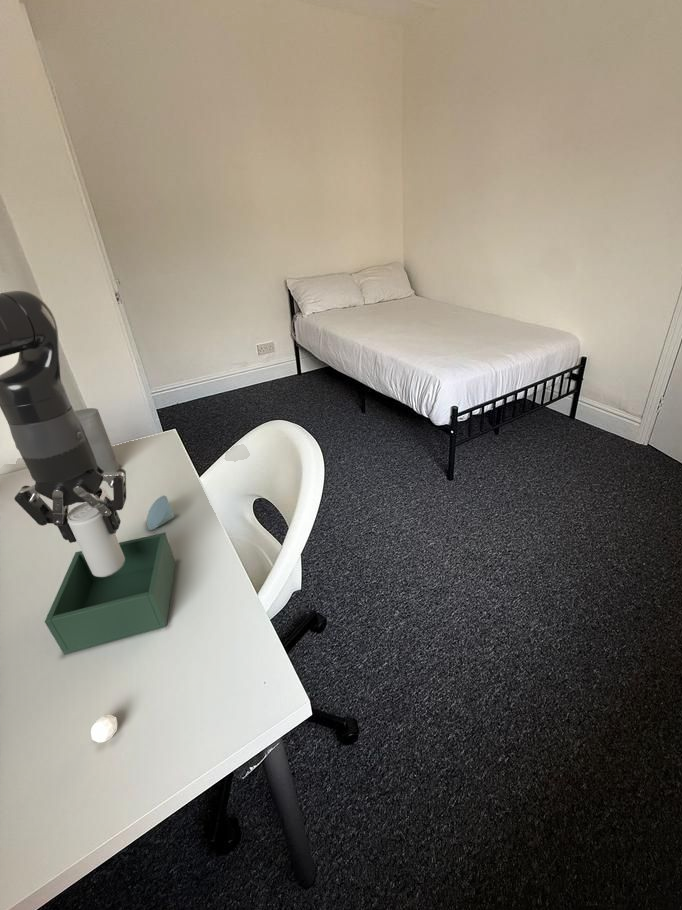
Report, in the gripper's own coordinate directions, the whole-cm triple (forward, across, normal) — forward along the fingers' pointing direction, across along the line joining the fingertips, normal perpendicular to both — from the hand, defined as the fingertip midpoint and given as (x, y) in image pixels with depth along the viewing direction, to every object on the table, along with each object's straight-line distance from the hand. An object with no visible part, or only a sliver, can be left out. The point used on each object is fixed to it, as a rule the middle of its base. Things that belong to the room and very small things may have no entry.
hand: (94, 534), depth 65 cm
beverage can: (+8, 0, 0) cm, 8 cm away
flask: (+16, +18, -47) cm, 53 cm away
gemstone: (+16, -3, -21) cm, 27 cm away
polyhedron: (+16, -2, +22) cm, 27 cm away
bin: (+16, 0, 0) cm, 16 cm away
